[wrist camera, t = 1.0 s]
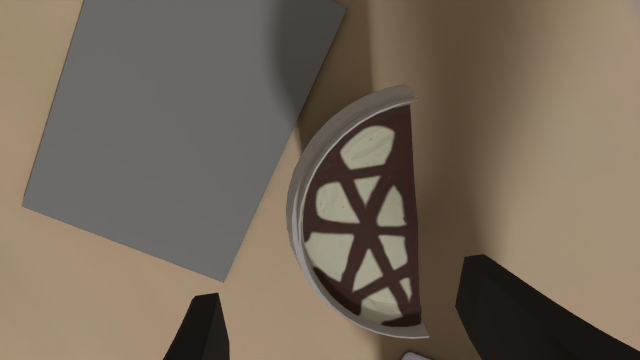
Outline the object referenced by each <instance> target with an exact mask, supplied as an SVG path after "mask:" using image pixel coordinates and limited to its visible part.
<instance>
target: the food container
mask: <svg viewBox="0 0 640 360" xmlns="http://www.w3.org/2000/svg"><path fill="white" fill-rule="evenodd" d="M417 101H419V99H418V98H415V97H414V91H413V90H411V89H410V88H409V87H408V86H407V85H405V84H404V85H399V86H395V87H390V88H385V89H382V90H380V91H377V92H374V93H372V94H369V95H366V96H364V97H362V98H360V99H358V100H357V101H355V102H353V103H351V104H350V105H348V106H346V107H345V108H343V109H342V110H341V111H339V112H338V113H337V114H336V115H334V116H333V117H332V118H331V119H329V120H328V121H327V122H326V123H325V124H324V125H323V126H322V128H321V129H320V130H319V131H318V132H317V133H316V134H315V135H314V136H313V138H312V139H311V141H310V142H309V144H308V145H307V147H306V148H305V150H304V151H303V153H302V154H301V157H300V159H299V161H298V163H297V165H296V167H295V169H294V172H293V175H292V179H291V182H290V186H289V189H288V196H287V206H286V218H287V230H288V235H289V239H290V243H291V247H292V250H293V252H294V254H295V257H296V259H297V261H298V264H299V266H300V268H301V269H302V271H303V273H304V275H305V277H306V278H307V280H308V281H309V283H310V285H311V286H312V288H313V289H314V291H315V292H316V293H317V294H318V295H319V296H320V297H321V298H322V300H323V301H324V302H325V303H326V304H327V305H329V306H330V307H331V308H332V309H334V310H335V311H336V312H337V313H339V314H340V315H342V316H343V317H344V318H345V319H347V320H349V321H351V322H352V323H354V324H356V325H358V326H359V327H361V328H364V329H367V330H369V331H372V332H374V333H377V334H382V335H386V336H391V337H396V338H410V339H417V338H430V337H429V334H428V332H427V330H426V327H425V325H424V323H423V321H422V318H421V306H420V298H419V275H418V221H417V209H416V198H415V184H414V170H413V151H412V131H411V114H410V104H408V103H413V102H417Z"/></svg>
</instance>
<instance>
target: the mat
mask: <svg viewBox="0 0 640 360" xmlns="http://www.w3.org/2000/svg"><path fill="white" fill-rule="evenodd" d="M346 10H347V8H346V7H344V6H342V5H340V4H338V3H337V2H335V1H333V0H84V3H83V7H82V10H81V13H80V16H79V20H78V23H77V26H76V29H75V33H74V36H73V39H72V43H71V46H70V49H69V52H68V56H67V59H66V62H65V65H64V69H63V72H62V75H61V78H60V82H59V85H58V88H57V92H56V95H55V98H54V101H53V105H52V108H51V111H50V114H49V118H48V121H47V124H46V127H45V131H44V134H43V137H42V141H41V144H40V147H39V150H38V154H37V157H36V160H35V163H34V167H33V170H32V173H31V176H30V180H29V183H28V186H27V190H26V193H25V196H24V199H23V203H22V207H25V208H27V209H30V210H33V211H35V212H38V213H41V214H43V215H46V216H49V217H51V218H54V219H57V220H59V221H62V222H64V223H67V224H70V225H72V226H75V227H78V228H80V229H83V230H86V231H88V232H91V233H94V234H96V235H99V236H102V237H104V238H107V239H110V240H112V241H115V242H117V243H120V244H123V245H125V246H128V247H131V248H133V249H136V250H139V251H141V252H144V253H147V254H149V255H152V256H155V257H157V258H160V259H163V260H165V261H168V262H170V263H173V264H176V265H178V266H181V267H184V268H186V269H189V270H192V271H194V272H197V273H200V274H202V275H205V276H208V277H210V278H213V279H215V280H218V281H221V282H223V283H224V281H225V279H226V276H227V274H228V272H229V270H230V268H231V265H232V263H233V261H234V259H235V256H236V254H237V252H238V250H239V248H240V245H241V243H242V241H243V239H244V236H245V234H246V232H247V230H248V228H249V225H250V223H251V221H252V219H253V217H254V214H255V212H256V210H257V208H258V205H259V203H260V201H261V199H262V197H263V194H264V192H265V190H266V188H267V186H268V183H269V181H270V179H271V177H272V174H273V172H274V170H275V168H276V166H277V163H278V161H279V159H280V157H281V154H282V152H283V150H284V148H285V146H286V143H287V141H288V139H289V137H290V135H291V132H292V130H293V128H294V126H295V123H296V121H297V119H298V117H299V115H300V112H301V110H302V108H303V106H304V103H305V101H306V99H307V97H308V95H309V92H310V90H311V88H312V86H313V84H314V81H315V79H316V77H317V75H318V72H319V70H320V68H321V66H322V64H323V61H324V59H325V57H326V55H327V53H328V50H329V48H330V46H331V44H332V41H333V39H334V37H335V35H336V33H337V30H338V28H339V26H340V24H341V21H342V19H343V17H344V15H345V13H346Z"/></svg>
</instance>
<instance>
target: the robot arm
mask: <svg viewBox="0 0 640 360" xmlns="http://www.w3.org/2000/svg"><path fill="white" fill-rule="evenodd" d="M455 307H456V309H457V311H458V314H459V316H460V318H461V321H462V323H463V325H464V327H465V330H466V332H467V334H468V336H469V338H470V340H471V342H472V343H473V345H474V347H475V349H476V350H477V352H478V354H479V355H480V357H481V359H482V360H640V351H638V350H636V349H634V348H632V347H630V346H629V345H627V344H625V343H623V342H621V341H619V340H617V339H615V338H613V337H612V336H610V335H608V334H606V333H605V332H603V331H601V330H599V329H598V328H596V327H594V326H593V325H591V324H589V323H588V322H586V321H584V320H583V319H581V318H579V317H578V316H576V315H574V314H573V313H571V312H569V311H568V310H566V309H565V308H563V307H562V306H560V305H558V304H557V303H555V302H554V301H552V300H551V299H549V298H548V297H546V296H545V295H543V294H542V293H540V292H539V291H537V290H536V289H534V288H533V287H531V286H530V285H528V284H527V283H525V282H524V281H523V280H521V279H520V278H518V277H517V276H515V275H514V274H512V273H511V272H509V271H508V270H507V269H505V268H504V267H502V266H501V265H499V264H498V263H496V262H495V261H493V260H492V259H490V258H489V257H487V256H486V255H484V254H482V255H475V256H469V257H464V263H463V268H462V273H461V278H460V284H459V289H458V294H457V300H456V305H455ZM163 360H230V356H229V339H228V334H227V330H226V325H225V321H224V316H223V312H222V307H221V303H220V298H219V294H218V293H213V294H206V295H199V296H195V297H194V298H193V299H192V301H191V304H190V306H189V308H188V311H187V313H186V315H185V317H184V319H183V322H182V324H181V326H180V328H179V330H178V332H177V334H176V336H175V338H174V340H173V342H172V344H171V346H170V347H169V349H168V351H167V353H166V355H165V357H164V359H163ZM402 360H430V359H428V358H425V357H422V356H420V355H417V354H414V353H411V352H410V353H406V354H405V355H404V357H403V358H402Z"/></svg>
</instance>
